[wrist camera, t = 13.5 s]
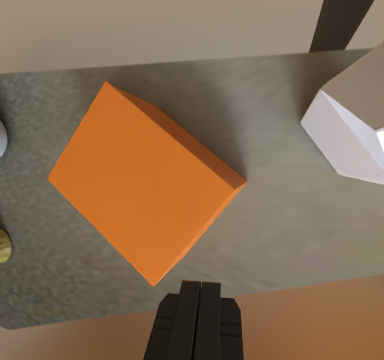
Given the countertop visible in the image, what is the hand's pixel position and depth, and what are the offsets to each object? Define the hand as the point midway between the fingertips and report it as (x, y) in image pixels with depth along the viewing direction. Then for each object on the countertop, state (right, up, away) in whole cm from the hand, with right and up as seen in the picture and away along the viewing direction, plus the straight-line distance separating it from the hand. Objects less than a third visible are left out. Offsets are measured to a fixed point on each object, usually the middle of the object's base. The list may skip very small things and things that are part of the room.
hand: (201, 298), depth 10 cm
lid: (-6, +4, +16) cm, 18 cm away
